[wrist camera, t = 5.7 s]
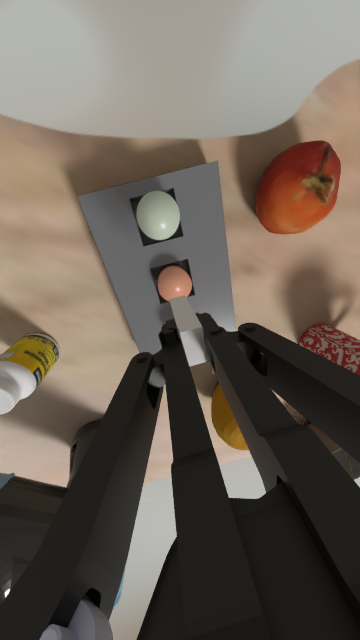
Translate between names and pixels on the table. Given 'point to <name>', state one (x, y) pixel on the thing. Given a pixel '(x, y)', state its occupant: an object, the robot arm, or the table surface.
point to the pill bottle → (25, 368)
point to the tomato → (298, 188)
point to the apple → (226, 421)
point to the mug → (333, 346)
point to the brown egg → (173, 282)
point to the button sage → (158, 215)
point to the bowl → (338, 453)
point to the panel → (164, 249)
